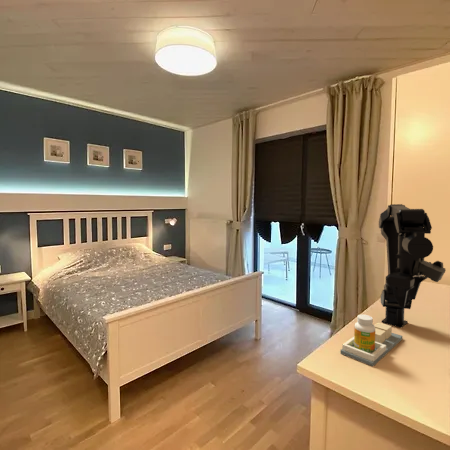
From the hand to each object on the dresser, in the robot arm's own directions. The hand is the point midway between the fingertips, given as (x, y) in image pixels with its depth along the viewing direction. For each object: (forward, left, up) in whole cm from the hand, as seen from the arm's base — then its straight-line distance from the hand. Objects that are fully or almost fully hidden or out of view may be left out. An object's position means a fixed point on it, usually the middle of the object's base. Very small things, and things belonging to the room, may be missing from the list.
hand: (407, 302), depth 86 cm
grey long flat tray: (+8, -7, -13) cm, 17 cm away
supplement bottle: (+14, -7, -12) cm, 20 cm away
